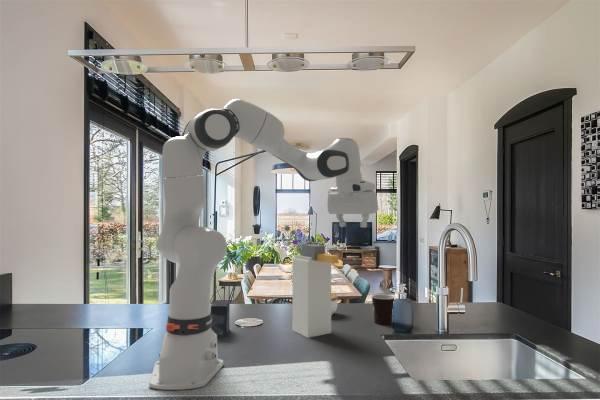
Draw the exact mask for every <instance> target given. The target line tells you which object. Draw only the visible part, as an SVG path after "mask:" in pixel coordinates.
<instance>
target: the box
mask: <svg viewBox="0 0 600 400" xmlns="http://www.w3.org/2000/svg"><path fill="white" fill-rule="evenodd" d="M230 304H231V301H230V300H214V302H213V303H212V304H210V313H211V314H212V326H211V329H212V330H213V332H214V333H215V334H217V337H226V336H227V334H228V333H229V331H230Z"/></svg>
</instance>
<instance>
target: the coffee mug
mask: <svg viewBox="0 0 600 400" xmlns="http://www.w3.org/2000/svg"><path fill="white" fill-rule="evenodd" d="M371 301H372V309H373V319H374V324H376V325H379V326H380V325H381V326H389V325H392V324H393V323H392V322H393V321H392V320H393V315H392V309H393V310H394V306H393V301H394V302H395V296H393V295H390V294H374V295H371Z"/></svg>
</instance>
